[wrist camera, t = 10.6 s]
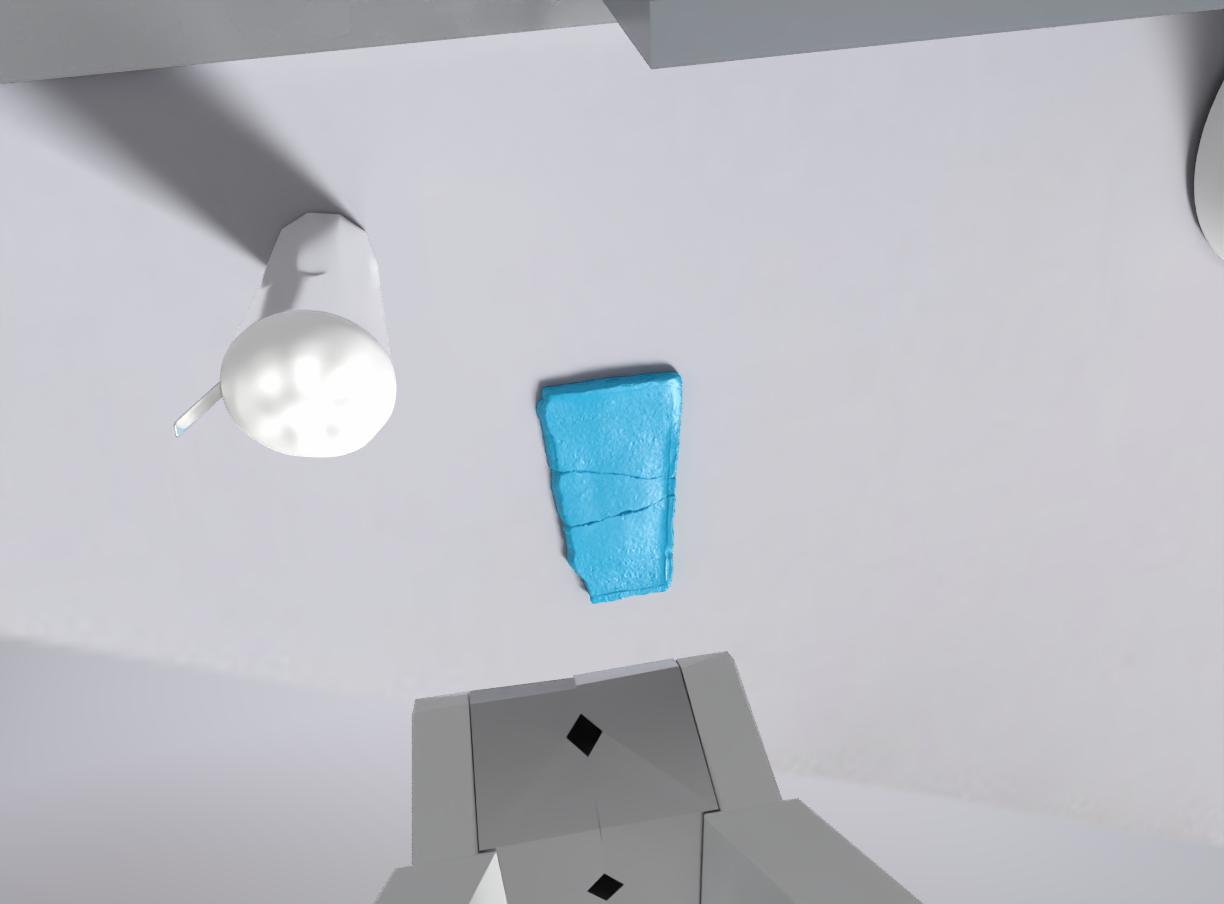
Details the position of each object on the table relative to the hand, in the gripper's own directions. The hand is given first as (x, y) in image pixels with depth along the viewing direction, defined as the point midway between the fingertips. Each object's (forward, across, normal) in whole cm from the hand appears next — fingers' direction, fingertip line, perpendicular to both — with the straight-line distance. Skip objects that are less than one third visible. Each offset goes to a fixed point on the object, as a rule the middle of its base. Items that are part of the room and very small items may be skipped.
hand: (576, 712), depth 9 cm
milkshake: (+25, +6, +7) cm, 27 cm away
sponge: (+26, -4, +19) cm, 32 cm away
